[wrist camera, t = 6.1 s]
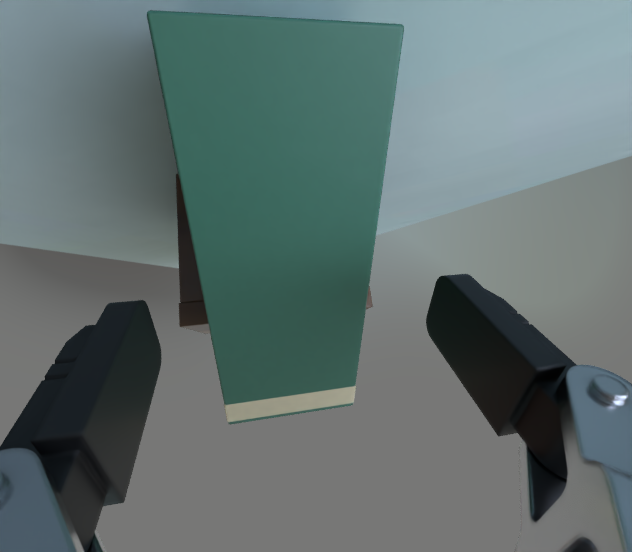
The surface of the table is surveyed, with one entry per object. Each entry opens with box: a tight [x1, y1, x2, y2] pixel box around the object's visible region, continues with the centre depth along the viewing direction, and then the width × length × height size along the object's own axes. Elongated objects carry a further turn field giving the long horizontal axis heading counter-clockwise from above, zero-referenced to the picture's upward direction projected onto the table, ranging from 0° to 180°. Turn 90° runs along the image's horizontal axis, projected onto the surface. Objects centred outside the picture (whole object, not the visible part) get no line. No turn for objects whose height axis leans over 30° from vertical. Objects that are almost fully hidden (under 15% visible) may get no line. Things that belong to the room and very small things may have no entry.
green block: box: [147, 10, 404, 424], centre depth 13 cm, size 13×6×13 cm, turn 172°
